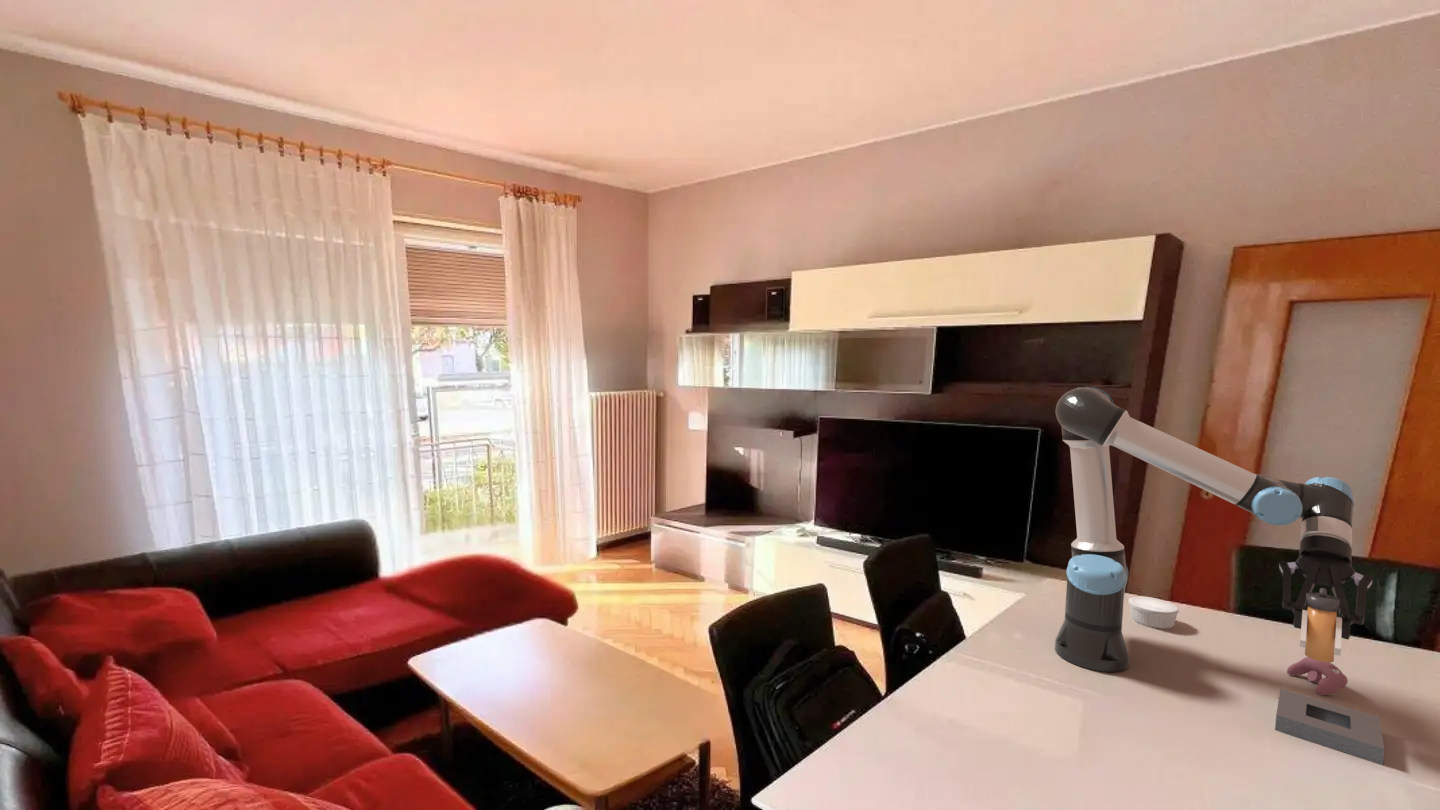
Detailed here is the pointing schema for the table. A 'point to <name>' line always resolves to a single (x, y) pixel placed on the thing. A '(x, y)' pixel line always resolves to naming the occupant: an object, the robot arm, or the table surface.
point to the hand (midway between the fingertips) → (1320, 647)
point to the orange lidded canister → (1321, 625)
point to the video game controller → (1320, 675)
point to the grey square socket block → (1330, 725)
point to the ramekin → (1153, 612)
